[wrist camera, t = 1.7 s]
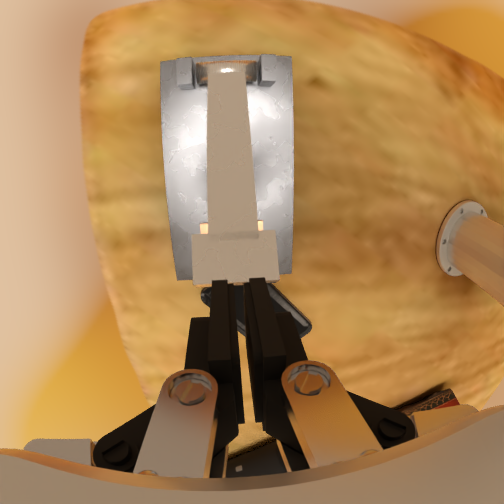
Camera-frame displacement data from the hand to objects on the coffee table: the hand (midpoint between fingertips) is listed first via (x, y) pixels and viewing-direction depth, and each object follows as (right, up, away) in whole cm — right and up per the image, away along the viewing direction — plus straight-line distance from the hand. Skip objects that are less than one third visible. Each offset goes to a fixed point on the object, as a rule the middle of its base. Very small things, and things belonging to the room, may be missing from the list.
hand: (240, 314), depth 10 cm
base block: (-2, +12, +20) cm, 23 cm away
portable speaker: (0, -44, +44) cm, 63 cm away
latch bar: (-1, +9, +10) cm, 14 cm away
